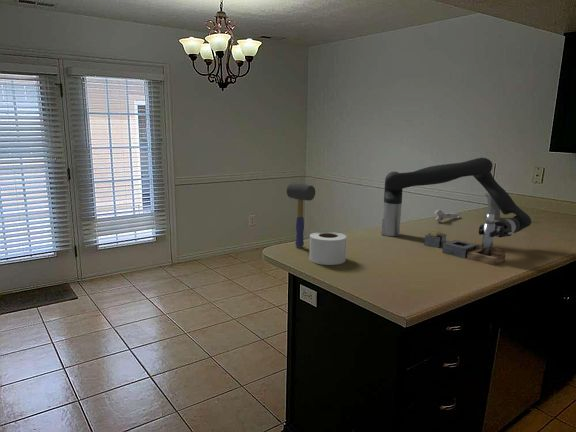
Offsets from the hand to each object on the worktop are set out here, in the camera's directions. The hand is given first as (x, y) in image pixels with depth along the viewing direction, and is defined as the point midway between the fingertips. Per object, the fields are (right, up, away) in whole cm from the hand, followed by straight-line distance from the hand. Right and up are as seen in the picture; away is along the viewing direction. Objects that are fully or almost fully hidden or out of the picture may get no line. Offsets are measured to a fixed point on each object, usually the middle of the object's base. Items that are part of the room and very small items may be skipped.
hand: (485, 233), depth 186 cm
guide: (-12, -7, +27) cm, 31 cm away
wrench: (+14, +4, +84) cm, 86 cm away
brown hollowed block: (+2, -12, +4) cm, 13 cm away
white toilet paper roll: (-68, -11, 0) cm, 69 cm away
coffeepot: (+48, +6, +93) cm, 105 cm away
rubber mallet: (-79, -7, +18) cm, 82 cm away
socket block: (-6, -10, +13) cm, 17 cm away
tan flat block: (-11, -6, +29) cm, 32 cm away
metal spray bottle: (+2, -9, +4) cm, 10 cm away
